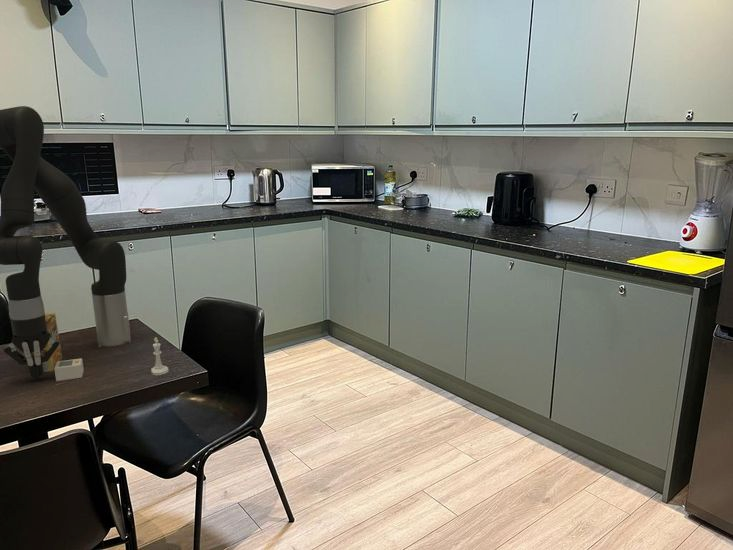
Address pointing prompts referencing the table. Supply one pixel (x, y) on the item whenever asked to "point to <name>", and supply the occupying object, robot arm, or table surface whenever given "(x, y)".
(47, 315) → the candy box
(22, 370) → the table surface
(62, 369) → the digital timer
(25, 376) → the table surface
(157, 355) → the chess piece
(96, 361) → the table surface
